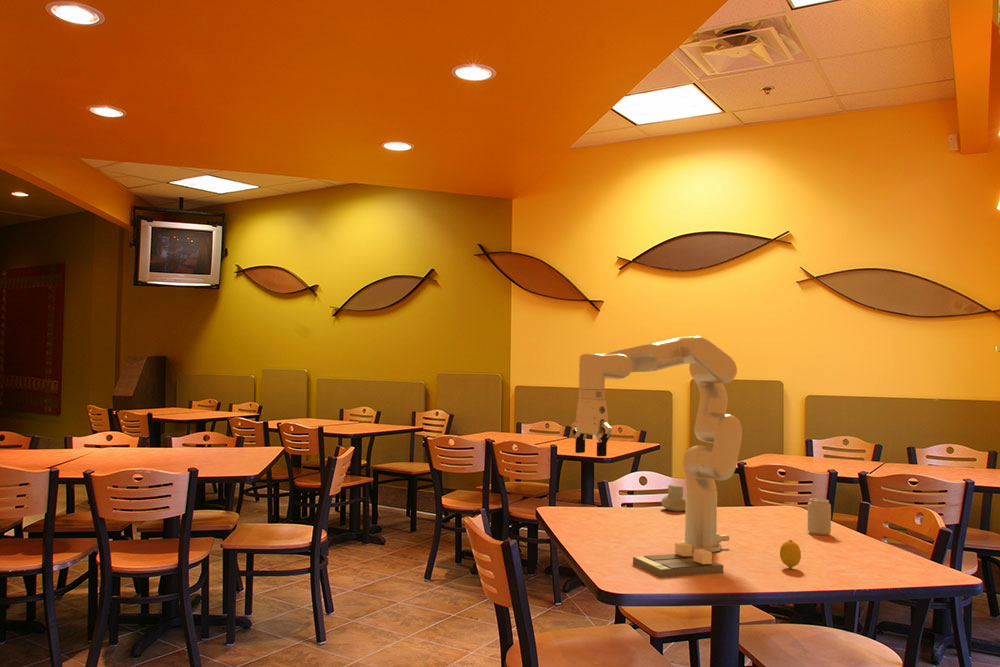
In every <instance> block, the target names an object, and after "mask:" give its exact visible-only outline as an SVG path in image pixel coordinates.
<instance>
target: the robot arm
mask: <svg viewBox="0 0 1000 667" xmlns="http://www.w3.org/2000/svg"><path fill="white" fill-rule="evenodd" d="M578 361H579V364H578V370H579V371H578V401H577V406H576V413H575V414H576V415H575V420H574V421H573V422H572V423H571V428H572V434H573V435H574V436H573V438H574V439H575V448H574V449H575V453H576V454H583V453H585V452H586V439H585V437H586V435H589V436H590V435H591V436H595V437H596V439H597V441H598V442H596V457H606V456H607V452H608V451H607V446H608V445H607V444H608V442H609V439H610V438H611V433H612V431H613V427H611V425H610V424H609V413H608V405H607V401H606V400H605V395H606V394H605V393H606V391H605V386H606V383H605V382H606V380H607V379H608V380H609V379H611V380H621V379H626V378H627V377H629V376H630V375H631V373H649V372H655V371H656V372H657V371H660V370H664V369H668V368H672V367H676V366H680V365H687V364H689V366H688V368H689V373H690V374H689V375H690V376H691V378H692V379H693V381H694V382H695V384H696V385H697V388H698V390H699V394H700V395H699V396H700V398H699V404H698V408H697V413H696V418H695V423H694V435H695V437H696V438H697V440H699V441H702V442H704V443H709V444H713V446H705V445H694V446H691V447H689V448H688V449H687V450H686V451H685V452H684V455H683V459H682V460H683V461H682V463H683V464H682V465H683V471H684V477H685V478H684V479H685V497H686V508H685V510H684V511H685V516H684V519H685V520H684V521H685V522H684V525H685V526H684V539H683V540H681V541H680V542H685V543H688V544H691V545H692V552H694V550H696V549H704V550H707V551H710V552H712V553H715V552H716V553H717V552H719V551H722V547H723V546H722V545H721V544H720V543H721V542H729V541H730V536H729V534H722V535H721V534H720V533H717V532H718V531H717V530H718V529H717V524H718V522H717V519H718V518H717V517H718V490H717V485H716V481H726V480H729V479H730V478H731V477H732V476H733V475H734V473H735V471H736V468H737V464H738V460H739V455H740V449H741V445H742V439H743V427H742V423H741V421H740V420H739V419H738V418H737V417H736V416H735V415H732V414H730V413H727V409H728V392H727V389H726V387H725V385H724V384H727V383H731V382H732V381H734V379H735V378H736V376H737V374H738V368H737V364H736V362H735V360H734V359H733V358H732V357H731V356H730V355H729V354H728V353H726V352H724V351H723V350H722V349H721V348H719V347H718V346H717V345H715V344H714V343H713V342H712V341H710V340H708V339H706V337H705V338H704V337H702V336H700V335H696V336H694V335H693V336H678V337H675V338H674V337H673V338H669V339H665V340H661V341H656V342H651V343H646V344H642V345H641V344H640V345H637V346H634V347H629V348H624V349H618V350H613V351H609V352H604V353H582V354H581V355H580V356H579V360H578ZM715 480H716V481H715Z"/></svg>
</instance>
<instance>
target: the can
mask: <svg viewBox="0 0 1000 667" xmlns="http://www.w3.org/2000/svg"><path fill="white" fill-rule="evenodd" d="M831 524H832V505H831V503H830V500H828V499H825V498H809V501H808V502H807V531H808V532H809V534H810V533H811V535H813V534H814V536H820V535H827V536H829V534H831V532H832V529H831V528H832V525H831Z"/></svg>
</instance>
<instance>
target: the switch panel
mask: <svg viewBox="0 0 1000 667" xmlns="http://www.w3.org/2000/svg"><path fill="white" fill-rule="evenodd" d="M632 565H634V566H636V567H637V568H640V569H642V570H644V571H646V572H648V573H650V574H652V575H654V576H657V577H659V578H669V577H682V576H697V575H709V574H710V575H711V574H721V573H724V564H721V563H720V562H719V563H718V562H717V561H714V560H712V564H701V563H698V562H696V561H694V552H692V556H681V555H679V554H676V553H668V554H667V553H666V554H652V555H643V556H642V555H641V556H633V557H632Z"/></svg>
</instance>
